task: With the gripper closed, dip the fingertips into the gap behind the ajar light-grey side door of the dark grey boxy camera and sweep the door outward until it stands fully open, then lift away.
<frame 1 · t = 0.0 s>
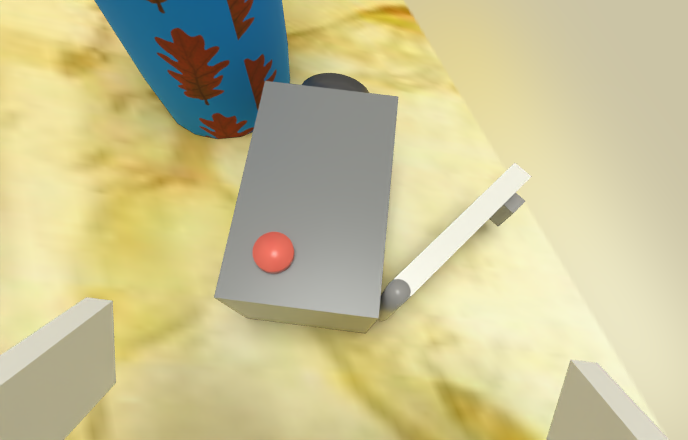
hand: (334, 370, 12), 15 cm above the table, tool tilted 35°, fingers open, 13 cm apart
thermos: (227, 86, 34), on the table
side door: (449, 253, 25), point 4 cm above the table, hinge at 40.0°
camera body: (319, 234, 29), on the table
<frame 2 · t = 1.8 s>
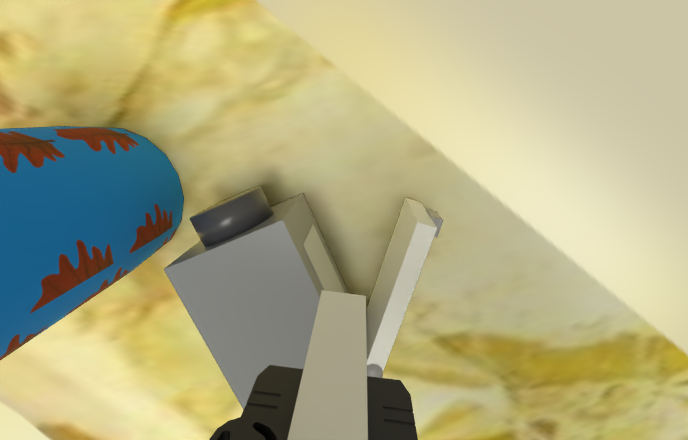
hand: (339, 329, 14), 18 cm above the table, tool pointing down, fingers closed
thermos: (119, 194, 32), on the table
side door: (398, 284, 28), point 4 cm above the table, hinge at 40.0°
camera body: (291, 284, 33), on the table
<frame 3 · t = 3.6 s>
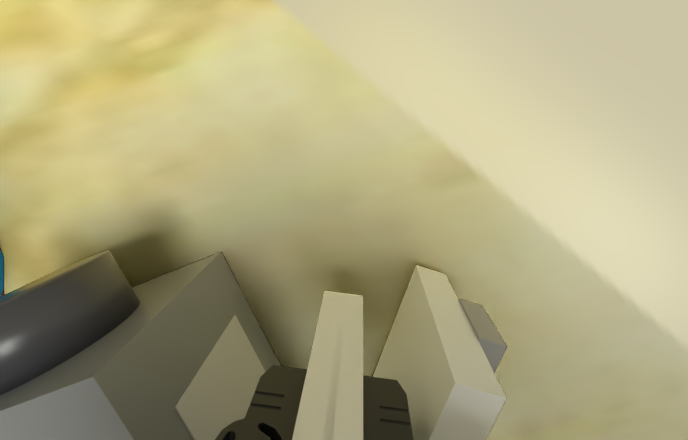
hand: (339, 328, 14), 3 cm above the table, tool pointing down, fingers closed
camera body: (209, 407, 18), on the table
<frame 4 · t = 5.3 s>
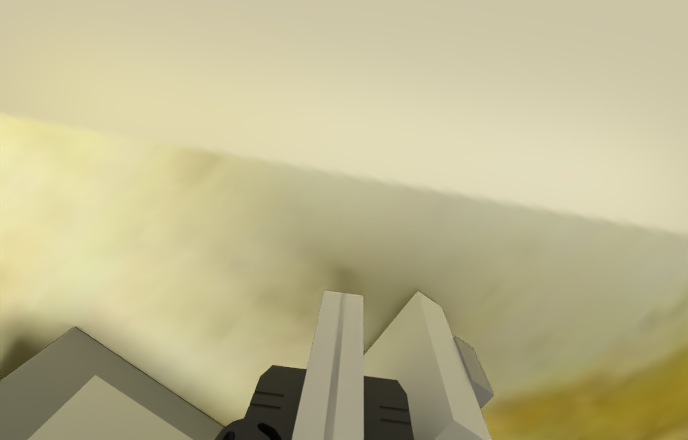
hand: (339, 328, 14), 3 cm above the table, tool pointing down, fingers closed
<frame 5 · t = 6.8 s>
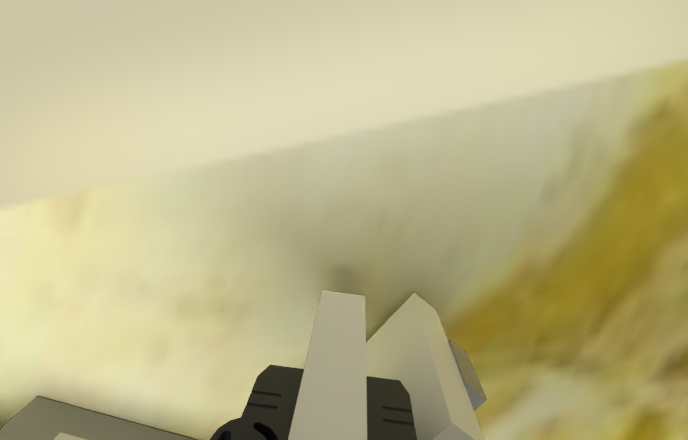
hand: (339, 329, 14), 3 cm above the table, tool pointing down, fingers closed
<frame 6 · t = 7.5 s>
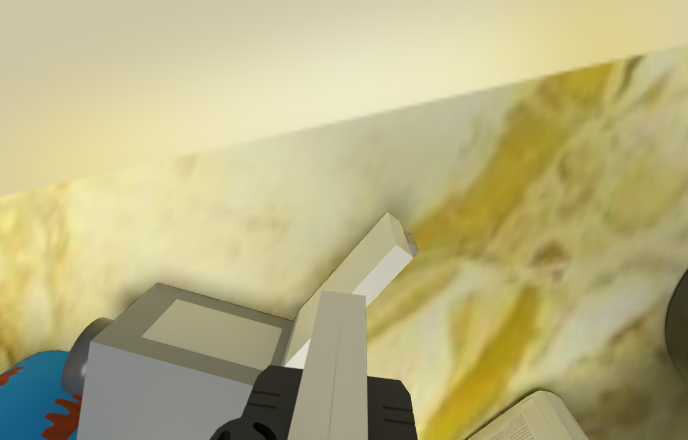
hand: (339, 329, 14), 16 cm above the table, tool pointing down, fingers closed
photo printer: (506, 429, 34), on the table
thermos: (69, 402, 34), on the table
side door: (347, 296, 26), point 4 cm above the table, hinge at 112.8°
camera body: (228, 349, 32), on the table
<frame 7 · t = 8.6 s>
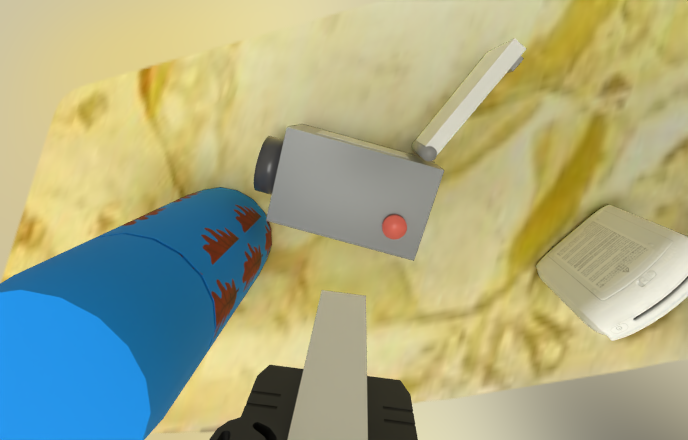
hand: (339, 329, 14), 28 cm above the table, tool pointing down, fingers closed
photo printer: (578, 245, 42), on the table
thermos: (224, 234, 43), on the table
side door: (464, 107, 35), point 4 cm above the table, hinge at 112.8°
camera body: (355, 180, 41), on the table
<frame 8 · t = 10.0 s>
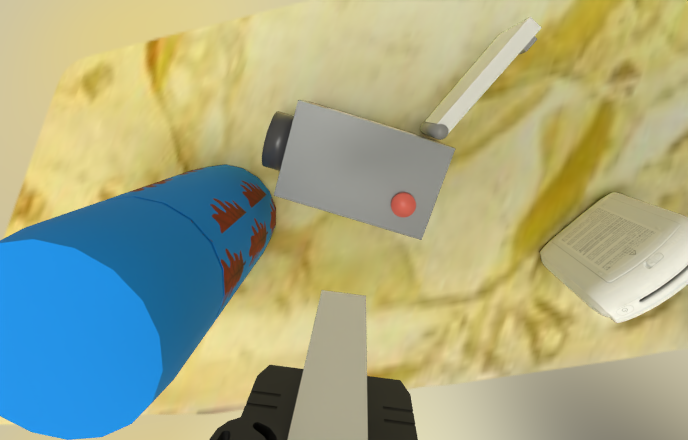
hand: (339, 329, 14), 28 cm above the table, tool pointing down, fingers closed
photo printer: (582, 233, 42), on the table
thermos: (228, 213, 43), on the table
side door: (475, 87, 35), point 4 cm above the table, hinge at 112.8°
camera body: (362, 161, 41), on the table
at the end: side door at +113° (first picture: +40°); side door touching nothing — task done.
